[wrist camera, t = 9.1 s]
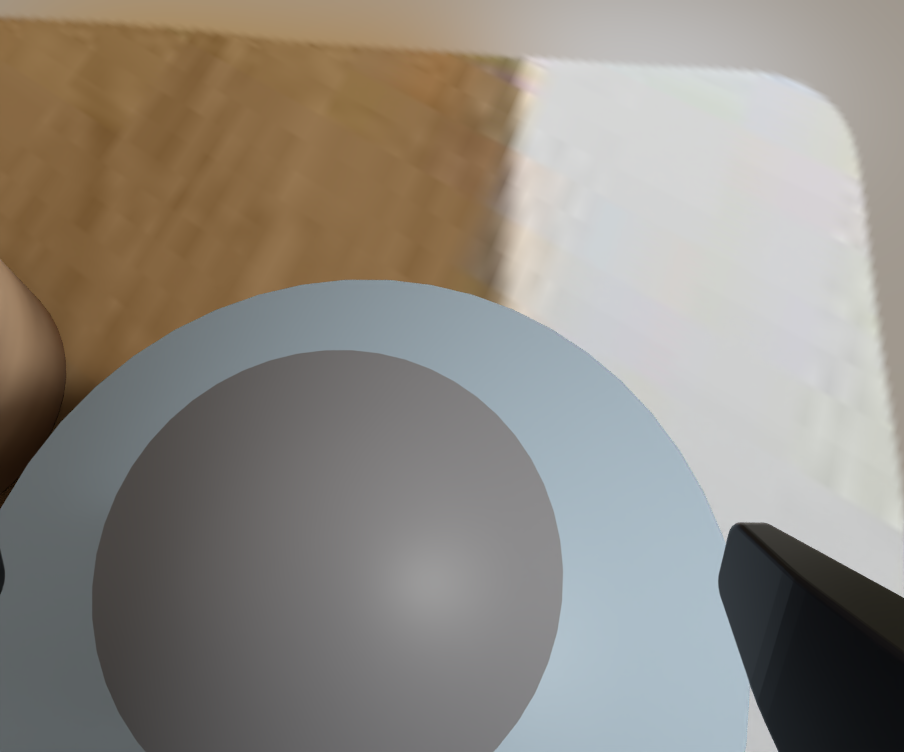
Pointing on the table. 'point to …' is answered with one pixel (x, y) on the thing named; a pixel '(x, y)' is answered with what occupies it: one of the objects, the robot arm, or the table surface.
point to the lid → (364, 546)
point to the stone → (26, 375)
